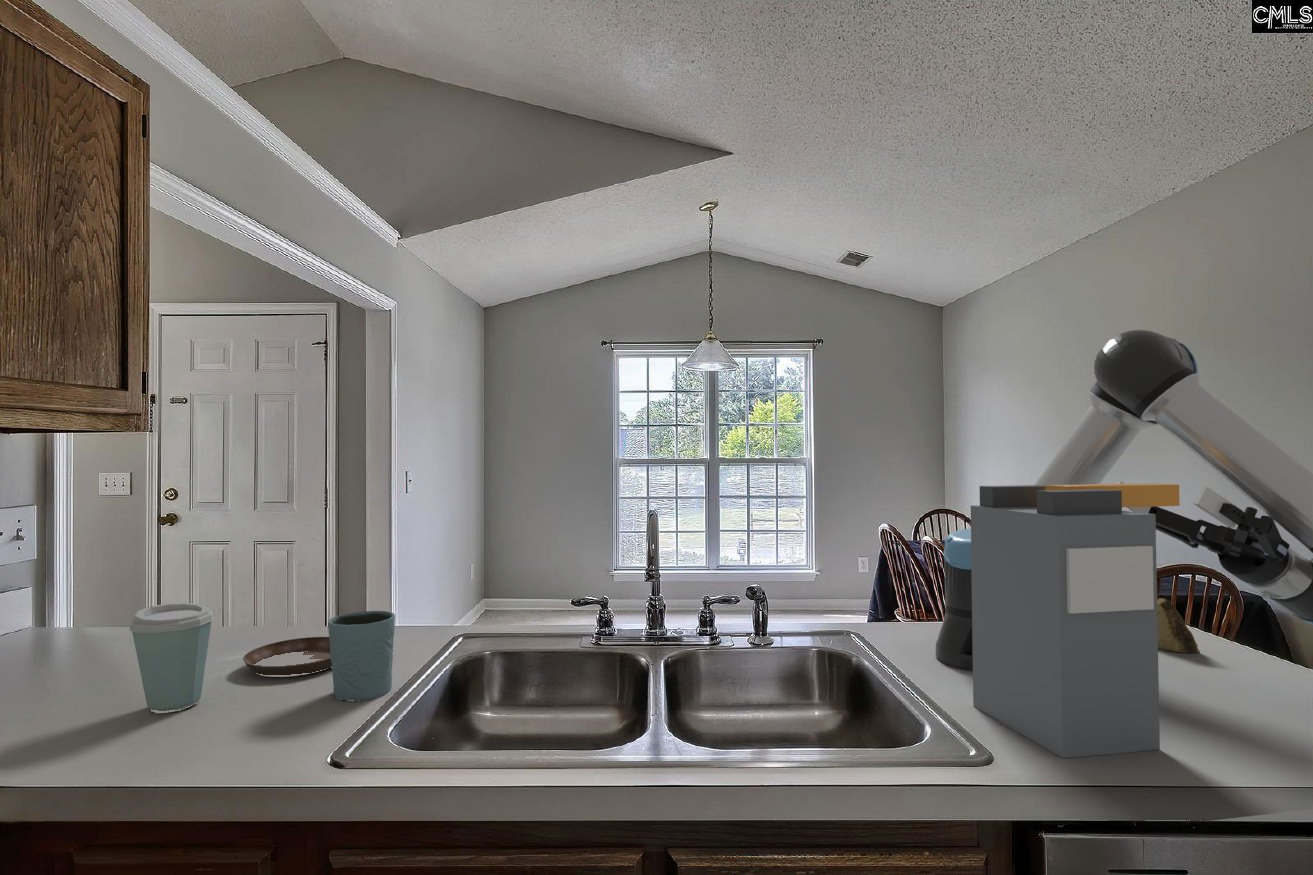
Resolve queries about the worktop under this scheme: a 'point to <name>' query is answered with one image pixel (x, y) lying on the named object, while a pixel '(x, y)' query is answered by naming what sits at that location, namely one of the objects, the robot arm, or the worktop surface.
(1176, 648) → the rock
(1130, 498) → the handle
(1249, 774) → the worktop surface
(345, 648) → the teal embossed cup
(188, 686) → the disposable coffee cup
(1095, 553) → the breaker panel
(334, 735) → the worktop surface
